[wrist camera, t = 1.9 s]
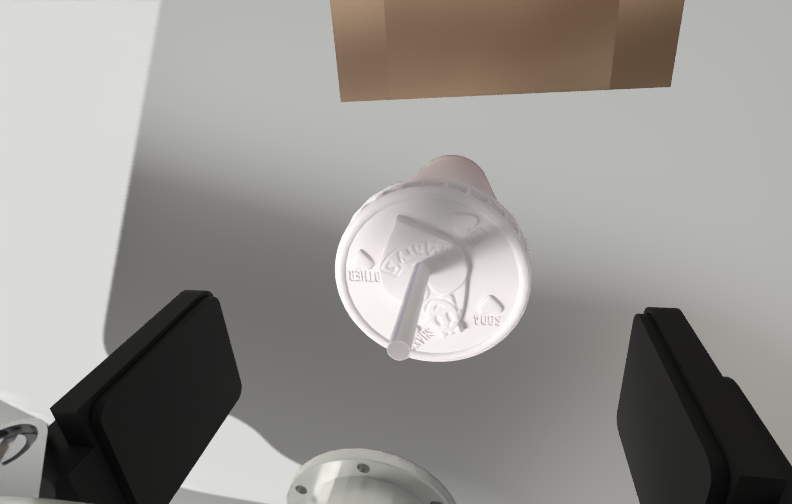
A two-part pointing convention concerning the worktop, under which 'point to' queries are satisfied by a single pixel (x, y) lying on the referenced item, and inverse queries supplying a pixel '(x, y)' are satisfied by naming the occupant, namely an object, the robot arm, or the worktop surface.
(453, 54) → the cutout board
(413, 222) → the smoothie
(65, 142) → the worktop surface
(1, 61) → the worktop surface
